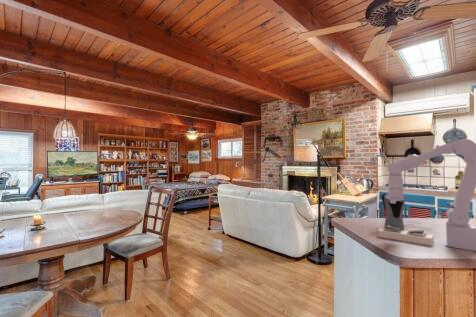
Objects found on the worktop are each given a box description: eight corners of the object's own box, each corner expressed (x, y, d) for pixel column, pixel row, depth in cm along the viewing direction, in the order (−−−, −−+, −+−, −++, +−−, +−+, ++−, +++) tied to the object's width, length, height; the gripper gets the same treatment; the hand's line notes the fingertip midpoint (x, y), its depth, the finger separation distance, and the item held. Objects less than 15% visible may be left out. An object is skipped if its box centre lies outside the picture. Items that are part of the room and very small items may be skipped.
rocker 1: (399, 230, 111) (399, 228, 111) (398, 231, 109) (398, 229, 109) (387, 226, 115) (387, 225, 114) (386, 227, 112) (386, 226, 112)
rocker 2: (423, 231, 105) (423, 229, 105) (423, 233, 103) (422, 231, 103) (410, 231, 108) (410, 229, 108) (409, 233, 106) (409, 231, 106)
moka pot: (398, 232, 119) (396, 192, 120) (374, 225, 134) (373, 190, 135) (413, 231, 121) (412, 192, 122) (388, 224, 136) (387, 189, 137)
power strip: (433, 241, 104) (433, 234, 104) (432, 245, 99) (431, 237, 99) (381, 233, 118) (381, 226, 118) (377, 236, 113) (377, 229, 113)
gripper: (389, 186, 119) (390, 213, 119) (382, 188, 109) (382, 218, 108) (406, 187, 115) (407, 215, 114) (400, 189, 104) (401, 220, 104)
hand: (396, 217), depth 111 cm, fingers closed
